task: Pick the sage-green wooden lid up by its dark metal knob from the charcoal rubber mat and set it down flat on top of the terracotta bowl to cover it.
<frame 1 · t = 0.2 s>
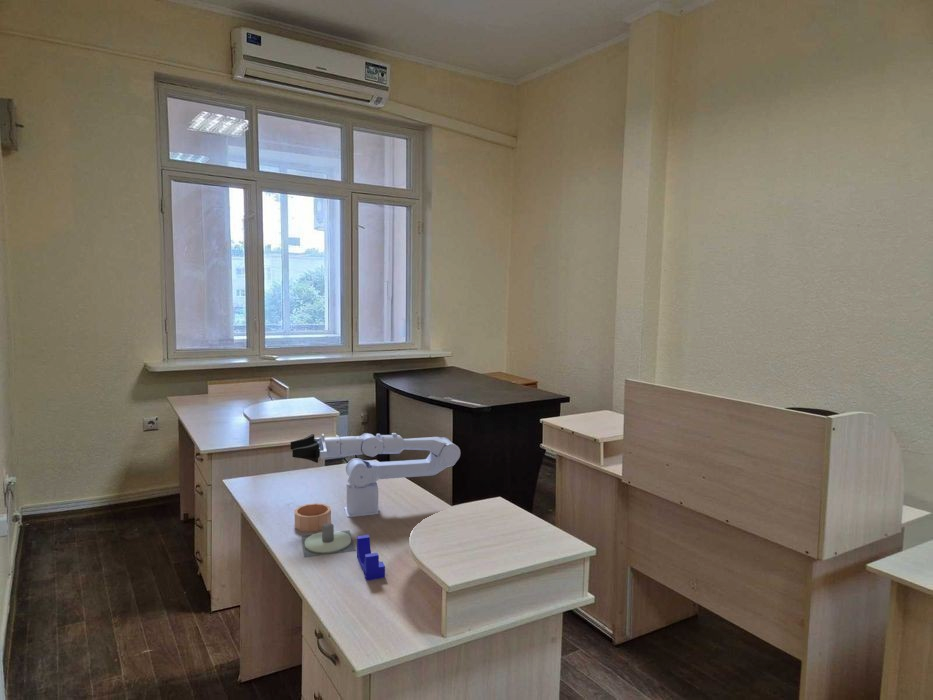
hand: (291, 449, 168), 21 cm above the table, tool horizontal, fingers open, 7 cm apart
blue stepped bracket: (370, 569, 143), on the table
mat: (328, 544, 155), on the table
bowl: (312, 525, 168), on the table
lid: (327, 543, 155), resting on mat
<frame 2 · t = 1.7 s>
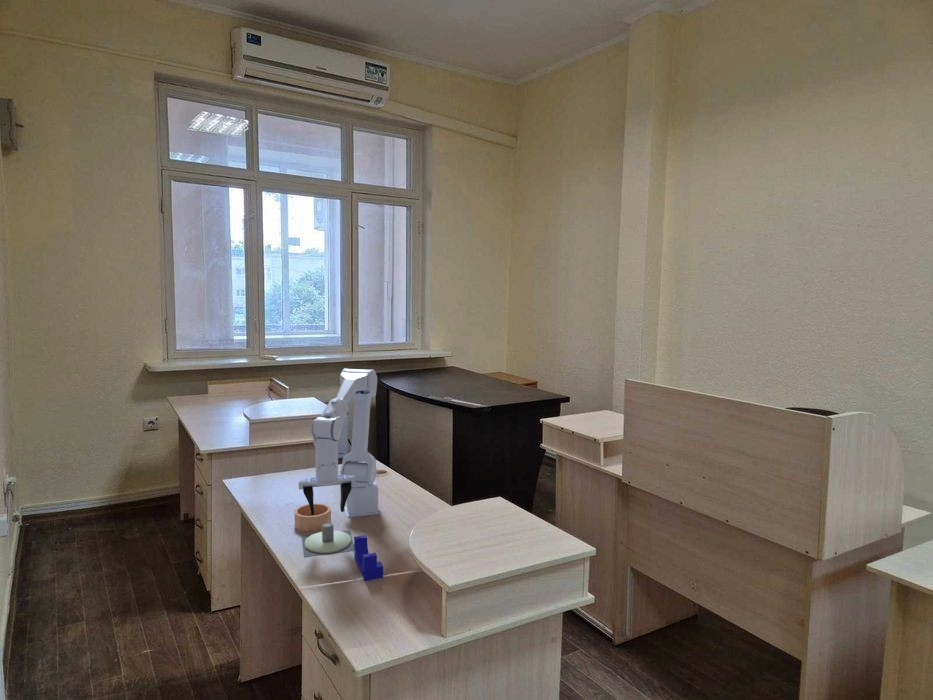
hand: (327, 512, 154), 9 cm above the table, tool pointing down, fingers open, 7 cm apart
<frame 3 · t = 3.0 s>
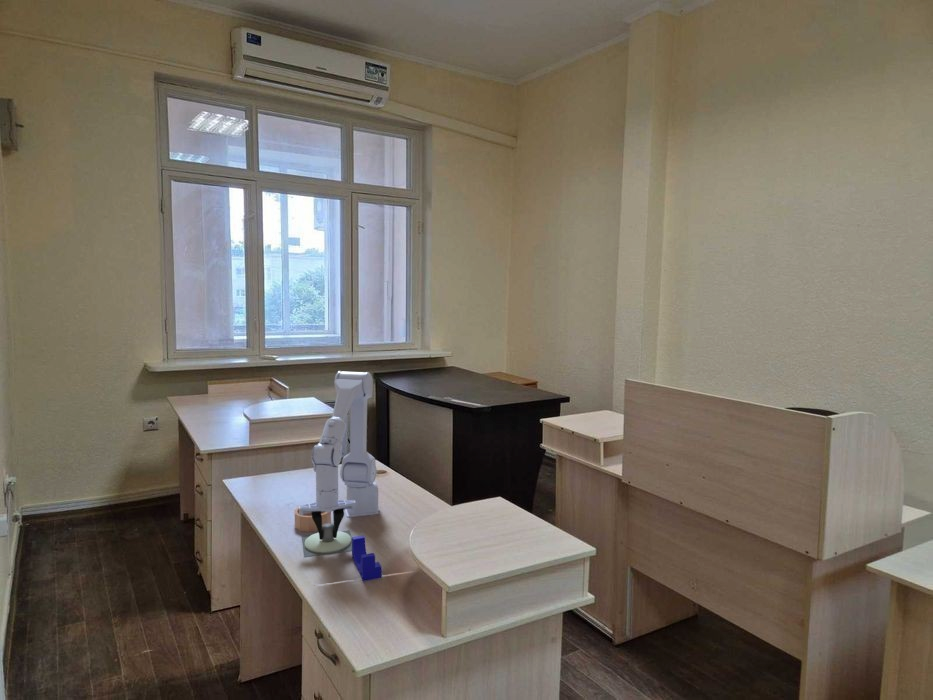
hand: (327, 537, 155), 2 cm above the table, tool pointing down, fingers closed on lid, 3 cm apart
lid: (328, 542, 155), resting on mat, touching gripper
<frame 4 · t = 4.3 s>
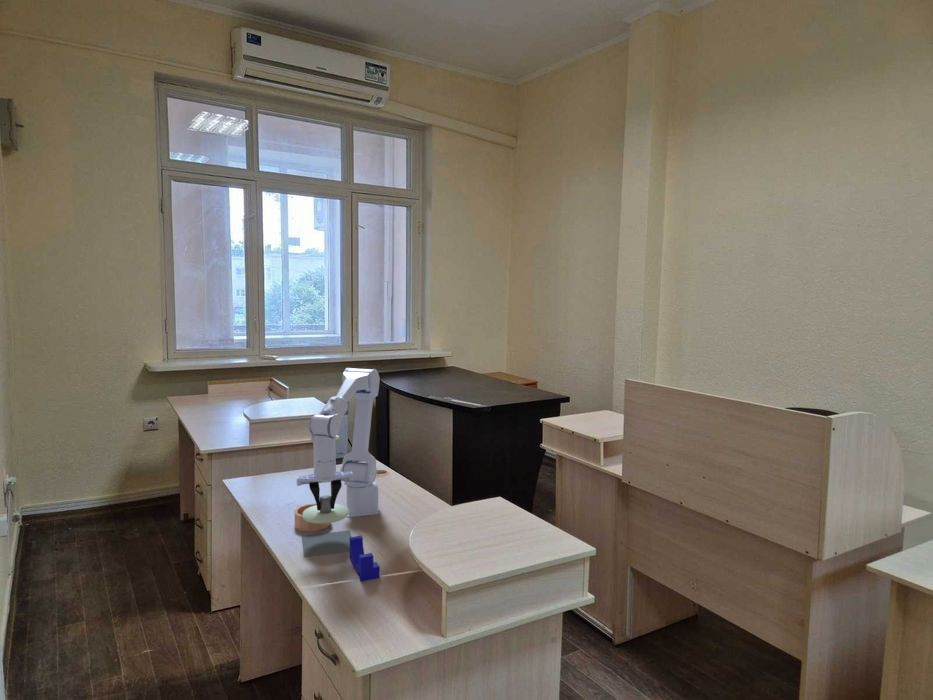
hand: (325, 508, 156), 9 cm above the table, tool pointing down, fingers closed on lid, 3 cm apart
lid: (325, 514, 156), point 8 cm above the table, touching gripper
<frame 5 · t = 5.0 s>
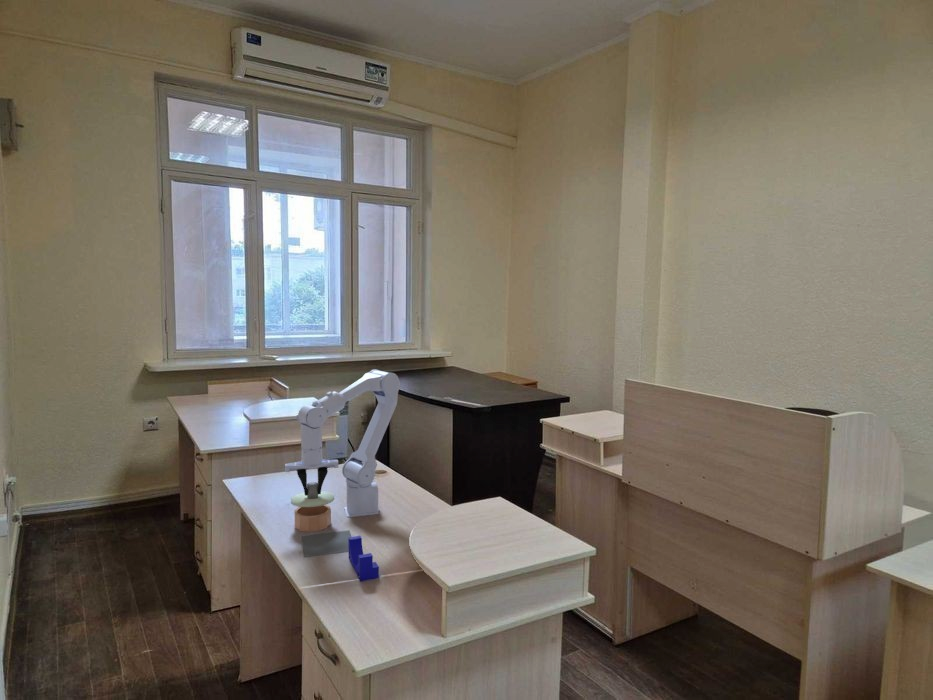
hand: (312, 493, 166), 9 cm above the table, tool pointing down, fingers closed on lid, 3 cm apart
lid: (312, 500, 166), point 8 cm above the table, touching gripper
when the fingers open (7 cm above the table, at t = 5.7 s): lid drops 1 cm, resting on bowl.
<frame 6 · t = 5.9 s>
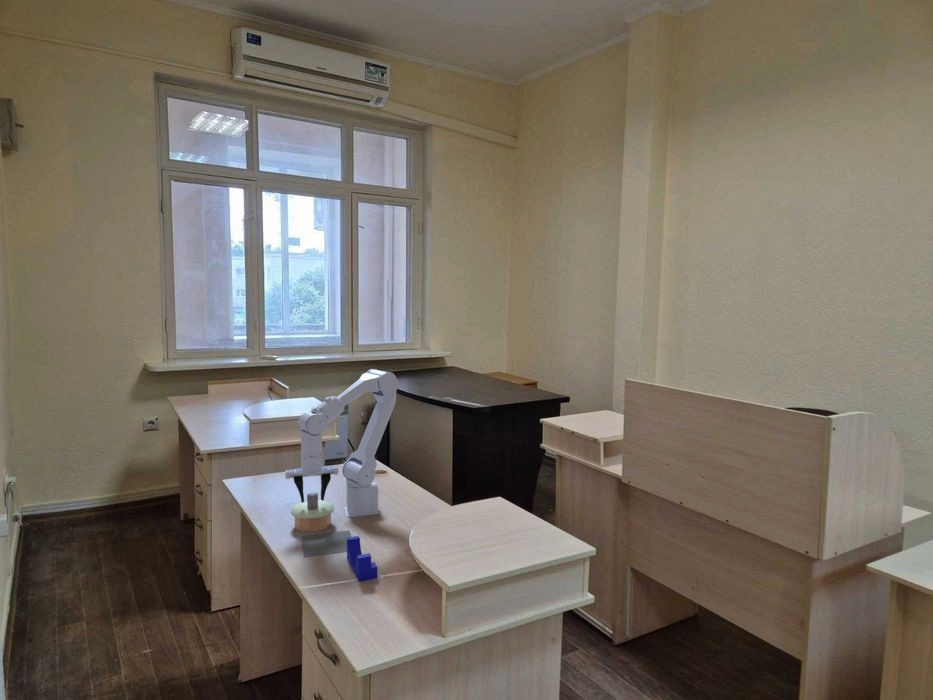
hand: (312, 500, 167), 7 cm above the table, tool pointing down, fingers open, 5 cm apart
lid: (312, 510, 167), point 4 cm above the table, touching bowl
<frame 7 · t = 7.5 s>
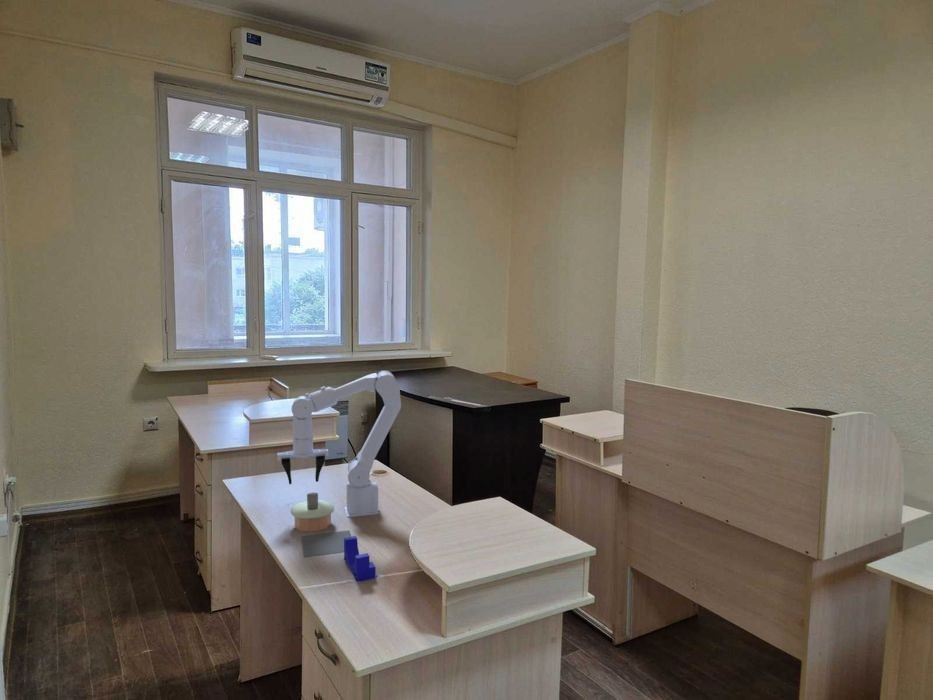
hand: (303, 481, 173), 10 cm above the table, tool pointing down, fingers open, 7 cm apart
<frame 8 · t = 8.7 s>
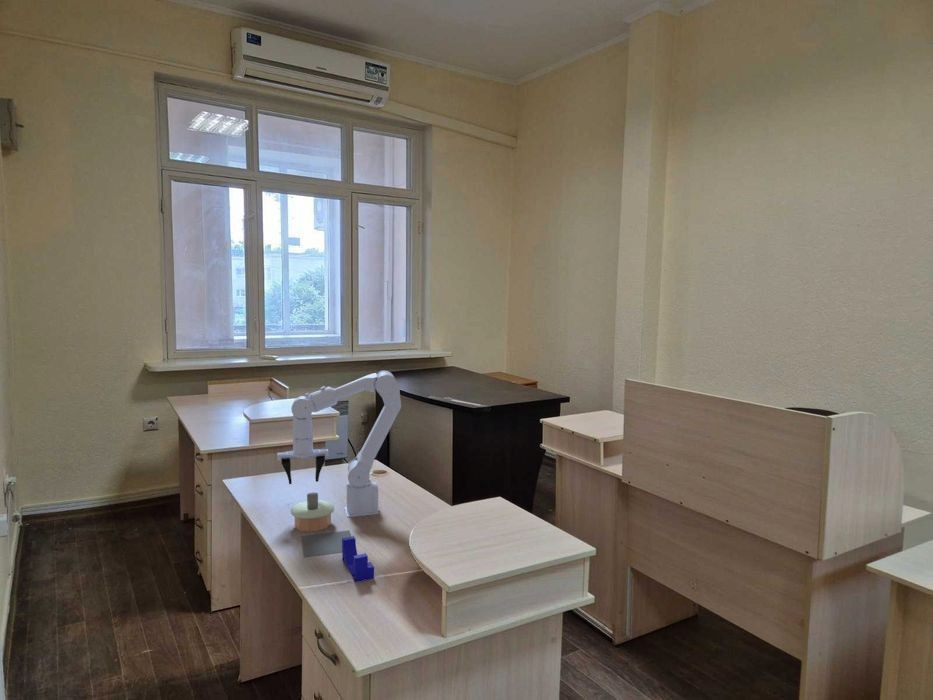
hand: (303, 481, 173), 10 cm above the table, tool pointing down, fingers open, 7 cm apart
at the end: lid 0.4 cm from the bowl (horizontally); lid point 4.5 cm above the table; lid tilted 0° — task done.
